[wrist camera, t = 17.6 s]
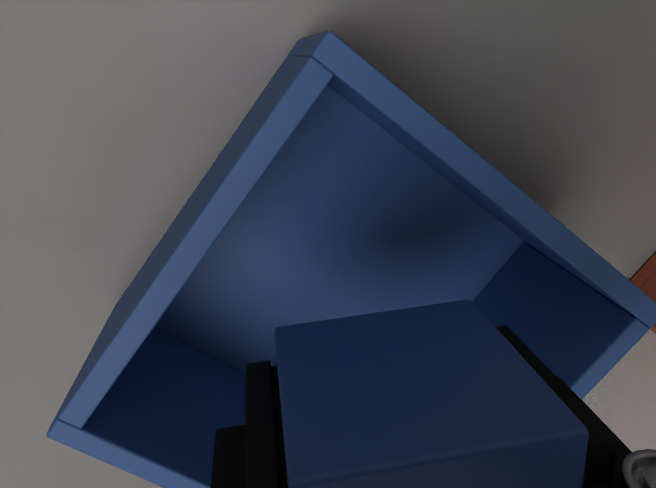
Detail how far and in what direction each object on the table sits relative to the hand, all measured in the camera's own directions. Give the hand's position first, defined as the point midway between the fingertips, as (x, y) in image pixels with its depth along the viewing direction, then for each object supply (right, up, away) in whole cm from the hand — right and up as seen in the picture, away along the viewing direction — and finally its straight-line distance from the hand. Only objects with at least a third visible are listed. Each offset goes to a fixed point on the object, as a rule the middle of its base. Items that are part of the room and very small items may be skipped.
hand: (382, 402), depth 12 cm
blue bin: (-1, +3, +7) cm, 8 cm away
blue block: (0, 0, 0) cm, 0 cm away
